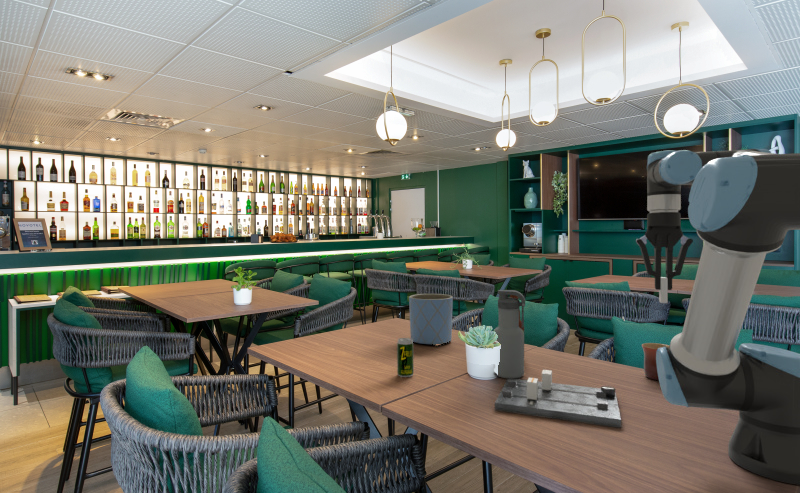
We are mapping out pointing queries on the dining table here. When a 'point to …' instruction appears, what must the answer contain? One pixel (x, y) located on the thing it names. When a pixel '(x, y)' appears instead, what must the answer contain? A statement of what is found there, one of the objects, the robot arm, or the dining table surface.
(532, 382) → the block
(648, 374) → the mug
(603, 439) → the dining table surface
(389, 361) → the dining table surface
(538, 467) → the dining table surface
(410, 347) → the beer can
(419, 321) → the planter
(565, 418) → the console board
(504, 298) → the water bottle
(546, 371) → the fader
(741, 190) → the robot arm
